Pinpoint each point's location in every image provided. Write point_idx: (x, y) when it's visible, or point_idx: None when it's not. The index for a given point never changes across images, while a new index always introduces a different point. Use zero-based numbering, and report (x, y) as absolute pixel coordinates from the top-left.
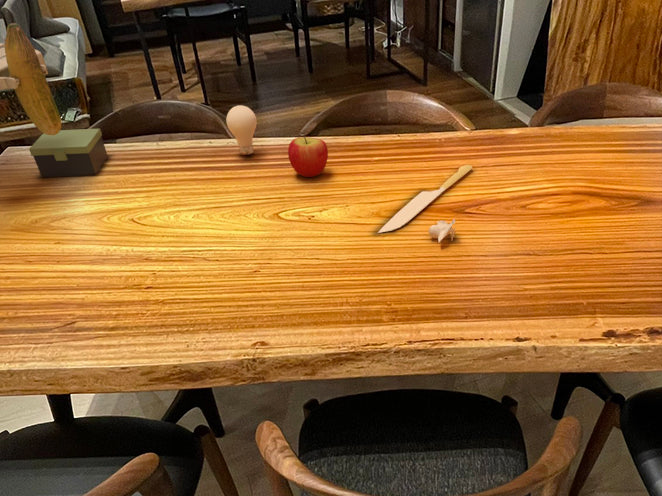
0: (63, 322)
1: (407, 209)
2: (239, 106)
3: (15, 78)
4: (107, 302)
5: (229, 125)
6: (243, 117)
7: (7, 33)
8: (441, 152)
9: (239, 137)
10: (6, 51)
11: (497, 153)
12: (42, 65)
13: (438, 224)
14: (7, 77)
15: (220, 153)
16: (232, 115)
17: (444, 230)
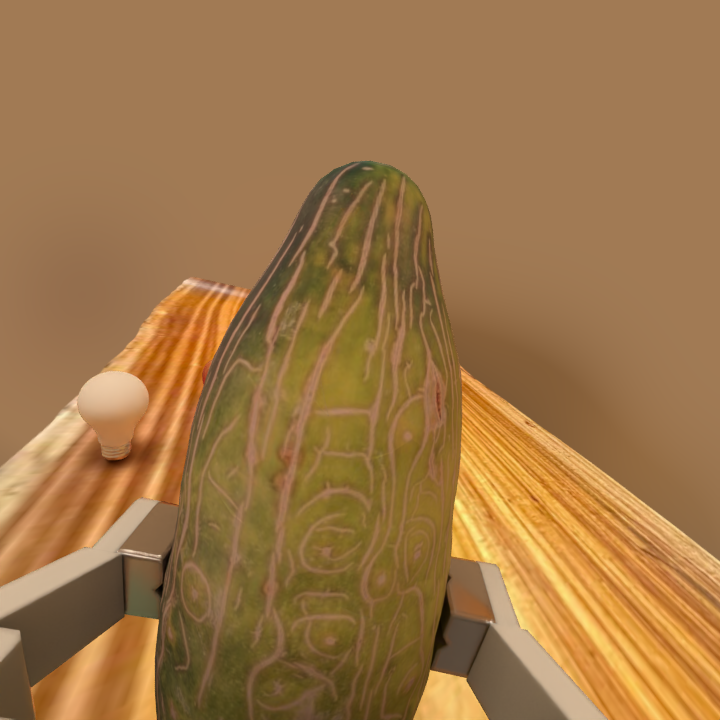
0: (657, 562)
1: None
2: (114, 373)
3: (464, 561)
4: (588, 530)
5: (132, 411)
6: (142, 383)
7: (431, 259)
8: (194, 338)
9: (135, 425)
10: (459, 430)
11: (208, 323)
12: (156, 501)
13: None
14: (496, 616)
15: (76, 498)
16: (131, 390)
17: None
